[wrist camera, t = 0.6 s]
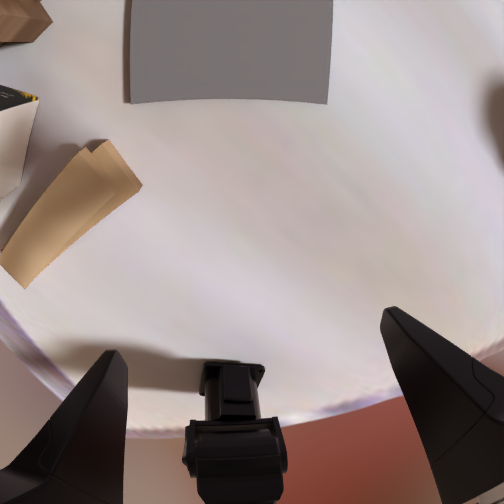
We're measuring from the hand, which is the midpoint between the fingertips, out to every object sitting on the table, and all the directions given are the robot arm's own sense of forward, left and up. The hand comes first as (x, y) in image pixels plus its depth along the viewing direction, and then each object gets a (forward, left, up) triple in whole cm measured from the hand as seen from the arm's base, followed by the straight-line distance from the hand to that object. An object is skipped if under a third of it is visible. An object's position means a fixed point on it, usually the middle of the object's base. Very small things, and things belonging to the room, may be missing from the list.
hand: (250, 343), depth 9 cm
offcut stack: (-4, +13, -13) cm, 18 cm away
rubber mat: (+12, +2, -13) cm, 18 cm away
